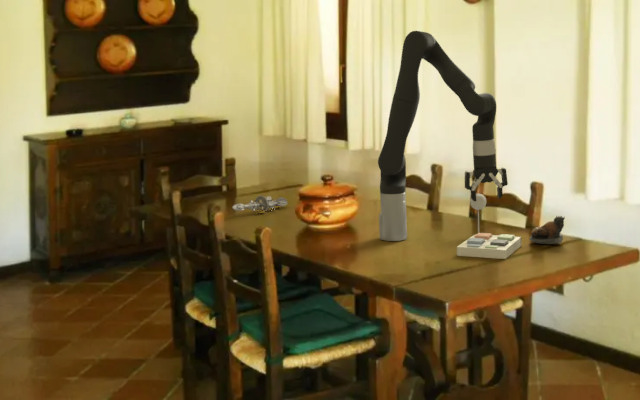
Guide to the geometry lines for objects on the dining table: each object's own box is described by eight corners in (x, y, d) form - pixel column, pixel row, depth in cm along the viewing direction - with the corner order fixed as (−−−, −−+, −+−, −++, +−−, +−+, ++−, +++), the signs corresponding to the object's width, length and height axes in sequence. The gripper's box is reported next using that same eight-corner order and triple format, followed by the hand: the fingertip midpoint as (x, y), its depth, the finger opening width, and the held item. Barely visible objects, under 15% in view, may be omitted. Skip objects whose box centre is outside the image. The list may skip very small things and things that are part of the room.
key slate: (467, 248, 302) (467, 240, 302) (471, 244, 306) (471, 237, 306) (480, 248, 300) (480, 241, 299) (484, 245, 304) (484, 238, 303)
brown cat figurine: (527, 244, 309) (526, 215, 308) (534, 240, 315) (534, 212, 313) (561, 247, 303) (561, 218, 301) (568, 243, 308) (568, 214, 306)
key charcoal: (490, 249, 298) (490, 242, 298) (494, 246, 302) (494, 239, 302) (504, 250, 296) (503, 243, 296) (507, 247, 300) (507, 240, 300)
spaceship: (223, 201, 375) (236, 195, 371) (278, 196, 403) (290, 190, 398) (228, 219, 374) (241, 214, 370) (283, 213, 402) (295, 207, 397)
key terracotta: (474, 242, 309) (474, 235, 309) (478, 239, 313) (478, 232, 313) (487, 243, 307) (487, 236, 306) (491, 240, 311) (491, 233, 310)
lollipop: (486, 236, 325) (486, 195, 322) (470, 236, 326) (469, 195, 323) (487, 232, 331) (486, 192, 328) (470, 232, 332) (470, 192, 329)
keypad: (456, 255, 299) (456, 245, 298) (475, 242, 316) (475, 232, 315) (505, 259, 291) (505, 248, 290) (521, 245, 308) (521, 235, 308)
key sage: (497, 244, 305) (497, 236, 305) (501, 241, 309) (501, 234, 309) (510, 245, 303) (510, 237, 303) (514, 241, 307) (514, 234, 307)
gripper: (502, 149, 308) (504, 195, 311) (461, 153, 307) (463, 200, 310) (508, 152, 300) (510, 199, 303) (466, 156, 300) (468, 203, 303)
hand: (486, 199), depth 307 cm, fingers open, 8 cm apart
